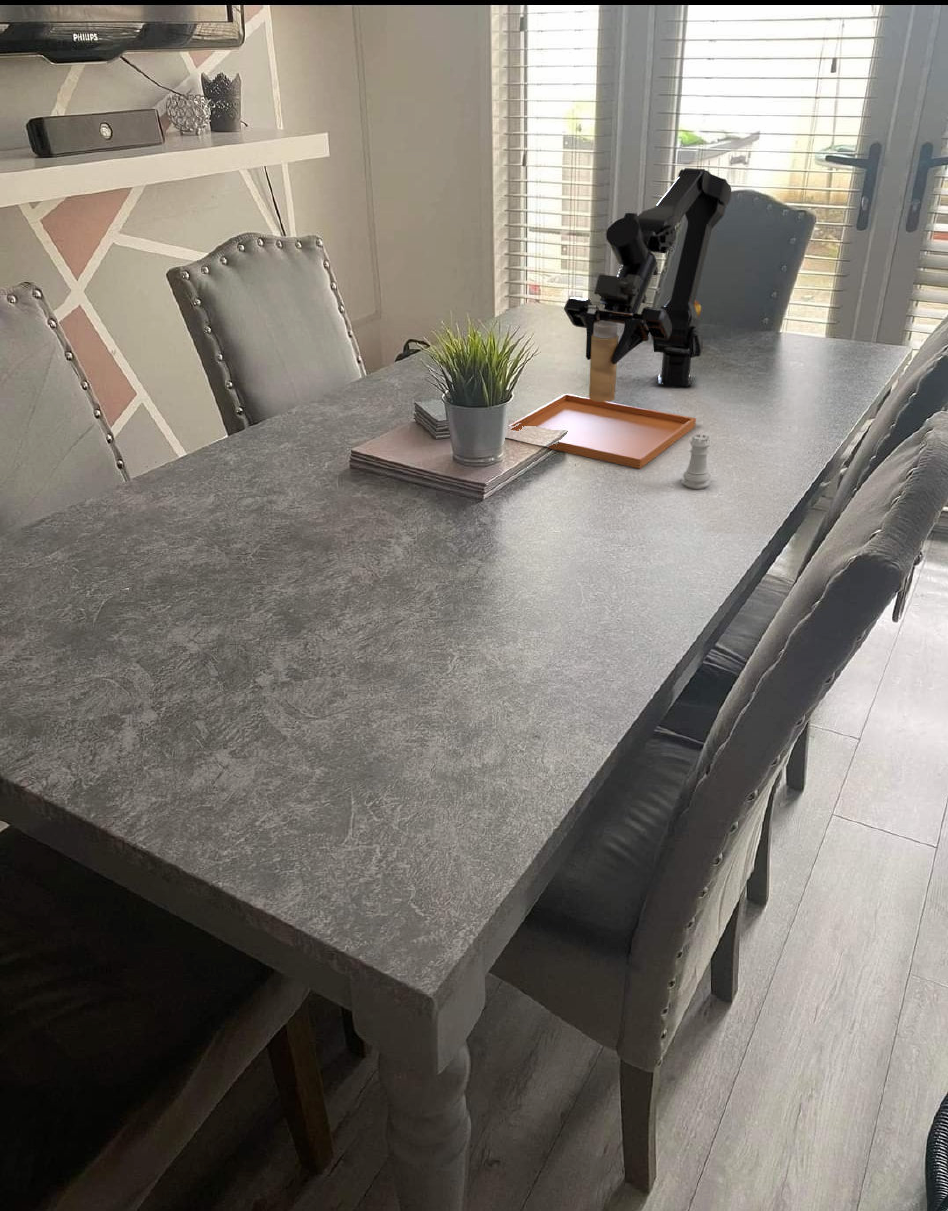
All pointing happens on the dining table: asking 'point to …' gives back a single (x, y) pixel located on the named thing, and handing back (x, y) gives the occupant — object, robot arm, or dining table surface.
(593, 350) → the disc
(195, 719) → the dining table surface
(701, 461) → the rook chess piece
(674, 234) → the robot arm
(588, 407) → the tray
